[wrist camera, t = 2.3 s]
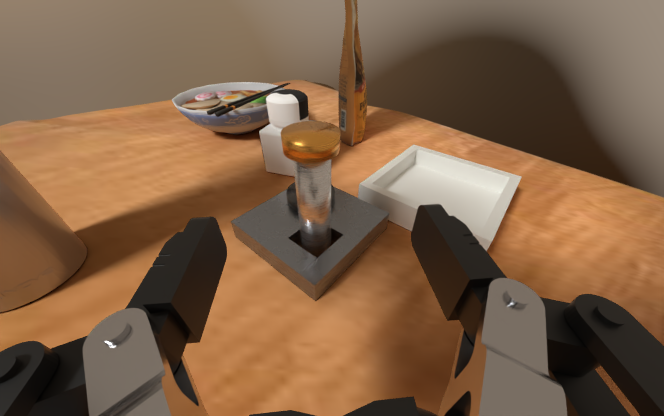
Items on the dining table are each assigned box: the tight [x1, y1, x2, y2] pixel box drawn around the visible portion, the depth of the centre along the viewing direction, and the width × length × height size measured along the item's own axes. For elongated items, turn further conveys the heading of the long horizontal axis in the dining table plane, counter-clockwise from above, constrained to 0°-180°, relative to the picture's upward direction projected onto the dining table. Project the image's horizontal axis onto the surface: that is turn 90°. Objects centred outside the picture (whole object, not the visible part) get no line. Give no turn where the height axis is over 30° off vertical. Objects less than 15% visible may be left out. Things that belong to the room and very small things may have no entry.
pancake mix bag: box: [339, 0, 367, 146], centre depth 47 cm, size 7×19×28 cm, turn 173°
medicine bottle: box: [259, 89, 314, 177], centre depth 40 cm, size 7×7×12 cm
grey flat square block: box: [231, 183, 389, 301], centre depth 29 cm, size 13×13×4 cm
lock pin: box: [281, 121, 340, 258], centre depth 24 cm, size 5×5×14 cm
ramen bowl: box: [172, 82, 290, 134], centre depth 54 cm, size 25×23×8 cm
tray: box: [358, 145, 521, 251], centre depth 34 cm, size 16×16×4 cm
